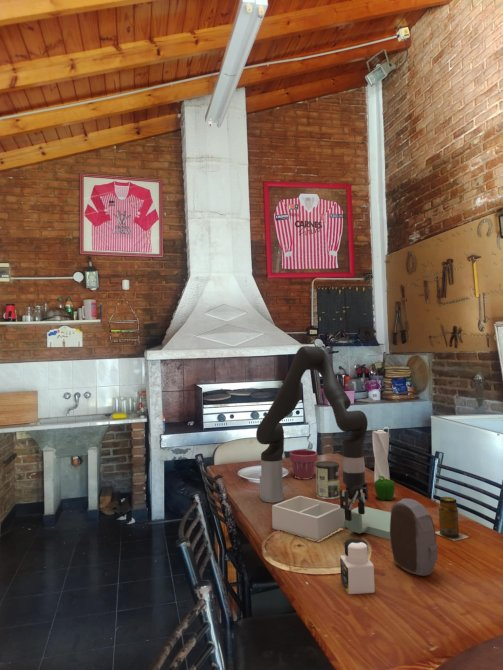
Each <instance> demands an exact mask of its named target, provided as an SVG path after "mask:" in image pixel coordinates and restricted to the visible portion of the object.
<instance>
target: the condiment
mask: <svg viewBox="0 0 503 670" xmlns="http://www.w3.org/2000/svg"><path fill="white" fill-rule="evenodd" d="M458 509H459V508H458V507H457V499H456V498H454V497H450V496H441V497H440V498H439V505H438V519H439V520H438V524H439V525H438V526H439V531H435V534H436V535H438V536H441V537H444V538H446V539H449V540H452V541H453V542H455V541H460V540H464V539H467V538H469V536H468V535H465V534H463V533H460V531H459V529H460V528H459V510H458Z"/></svg>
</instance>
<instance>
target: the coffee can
mask: <svg viewBox="0 0 503 670" xmlns="http://www.w3.org/2000/svg"><path fill="white" fill-rule="evenodd" d="M339 466H340V464H339V462H336V461H329V460H328V461H326V460H324V461H318V462H317V461H316V463H315V480H316V482H315V484H316V486H315V487H316V489H315V490H316V495H315V496H316V497H317V498H319V499H322V500H335V499H340V470H339Z"/></svg>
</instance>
